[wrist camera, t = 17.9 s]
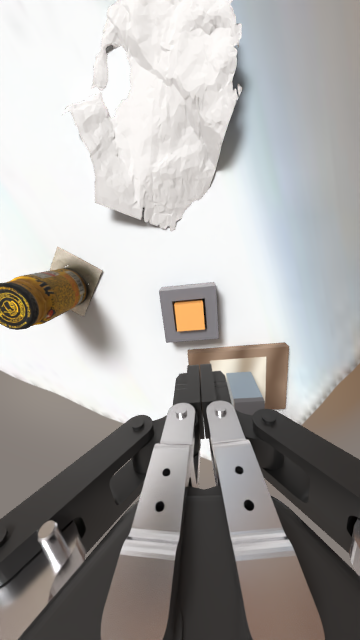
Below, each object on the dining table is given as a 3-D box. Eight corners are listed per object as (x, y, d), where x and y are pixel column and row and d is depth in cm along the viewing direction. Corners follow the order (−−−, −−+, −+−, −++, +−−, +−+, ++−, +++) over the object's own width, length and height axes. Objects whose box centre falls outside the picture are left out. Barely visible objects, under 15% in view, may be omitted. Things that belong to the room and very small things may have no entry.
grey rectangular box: (250, 371, 36) (264, 401, 29) (250, 391, 37) (264, 424, 31) (226, 373, 36) (234, 402, 30) (227, 393, 38) (235, 425, 31)
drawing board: (285, 342, 36) (289, 346, 34) (282, 402, 40) (285, 409, 38) (187, 349, 37) (187, 354, 36) (193, 407, 41) (193, 413, 39)
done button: (201, 297, 34) (202, 302, 30) (203, 321, 35) (204, 329, 32) (175, 299, 34) (174, 305, 31) (178, 323, 35) (177, 331, 32)
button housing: (213, 282, 33) (215, 285, 30) (216, 331, 36) (218, 338, 33) (161, 287, 34) (159, 291, 31) (168, 334, 36) (166, 342, 34)
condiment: (42, 295, 35) (-29, 319, 24) (58, 246, 33) (-13, 247, 21) (84, 316, 36) (35, 349, 25) (103, 270, 33) (58, 283, 22)
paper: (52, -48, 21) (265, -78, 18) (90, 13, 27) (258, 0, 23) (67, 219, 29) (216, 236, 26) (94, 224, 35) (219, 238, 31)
